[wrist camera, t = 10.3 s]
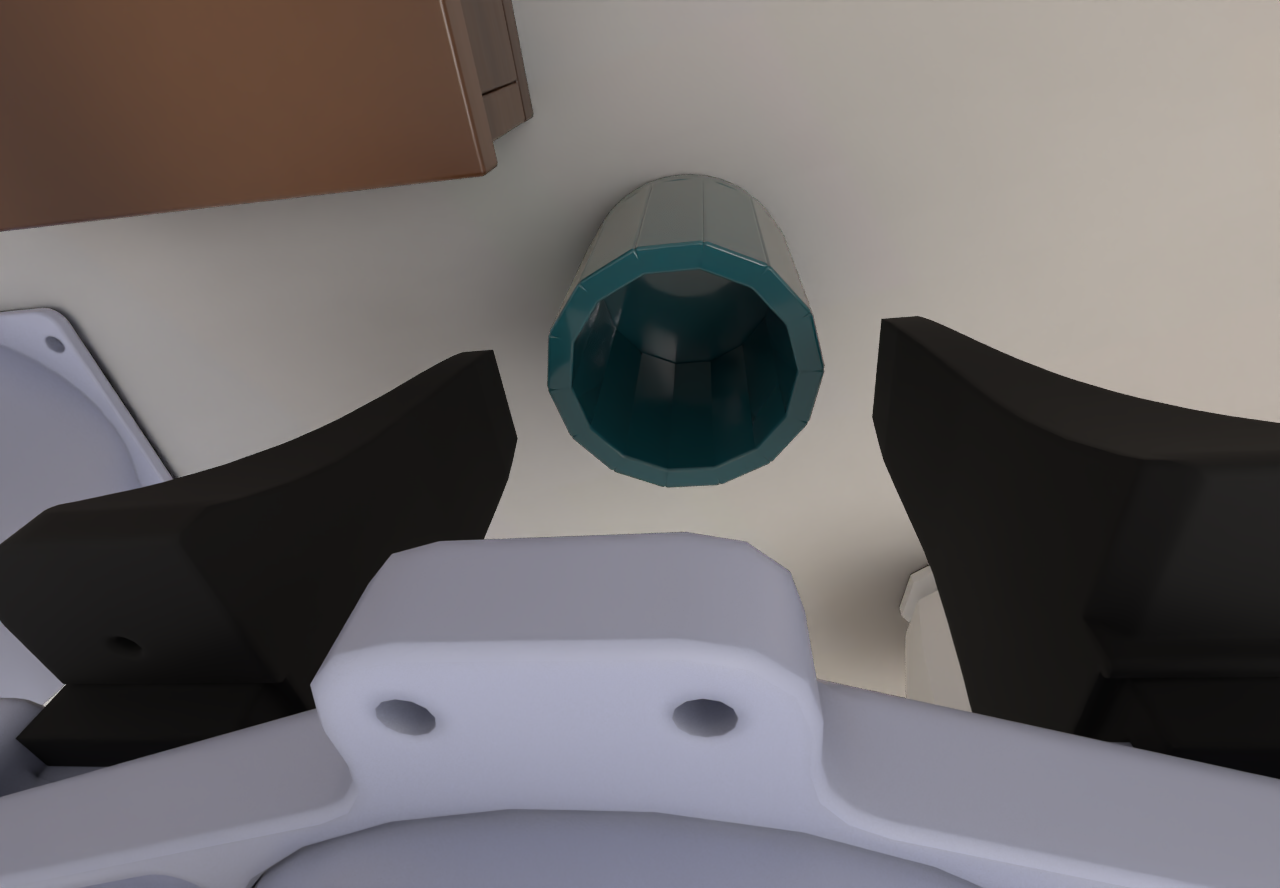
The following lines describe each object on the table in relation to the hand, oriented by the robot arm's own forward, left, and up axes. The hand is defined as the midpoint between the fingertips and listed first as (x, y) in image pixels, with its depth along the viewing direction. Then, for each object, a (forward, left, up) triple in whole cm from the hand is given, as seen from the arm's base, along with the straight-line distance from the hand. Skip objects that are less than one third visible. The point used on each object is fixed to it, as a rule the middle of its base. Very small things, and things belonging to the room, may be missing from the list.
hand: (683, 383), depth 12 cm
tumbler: (0, 0, -6) cm, 6 cm away
